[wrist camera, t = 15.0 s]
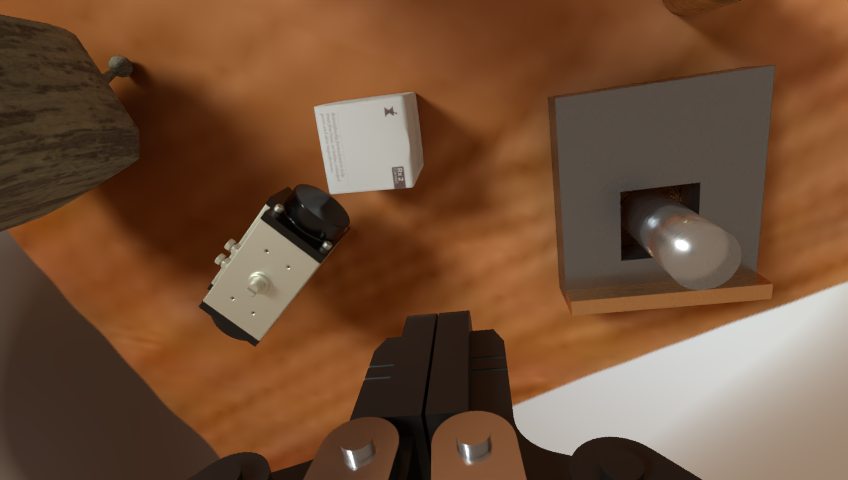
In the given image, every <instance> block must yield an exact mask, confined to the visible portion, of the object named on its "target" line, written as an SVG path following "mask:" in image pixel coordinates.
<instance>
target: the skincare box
mask: <svg viewBox="0 0 848 480" xmlns="http://www.w3.org/2000/svg"><path fill="white" fill-rule="evenodd" d="M314 110H315V116H316V122H317V128H318V133H319V139H320V144H321V150H322V155H323V161H324V166H325V172H326V177H327V182H328V187H329V192H330V194H341V193H352V192H363V191H375V190H388V189H400V188H412V187H414V185H415V183H416V181H417V178H418V176H419V174H420V172H421V170H422V168H423V166H424V161H423V149H422V140H421V131H420V123H419V115H418V107H417V100H416V94H415V92H406V93H399V94H390V95H382V96H375V97H367V98H360V99H353V100H345V101H339V102H335V103H330V104H324V105H319V106H316V107H314Z"/></svg>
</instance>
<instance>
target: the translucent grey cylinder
mask: <svg viewBox="0 0 848 480" xmlns="http://www.w3.org/2000/svg"><path fill="white" fill-rule="evenodd" d="M620 211H621V225H622V227H623V228H624V229H625V230H626V231H627V232H628V233H629V234H630V235H631V236H632V237H633V238H634V239H635V240H636V241H637V242H638V243H639V244H640V245H641V246H642V247H643V248H644V249H645V250H646V251H647V252H648V253H649V254H650V255H651V256H652V257H653V258H654V259H655V260H656V261H657V262H658V263H659V264H660V265H661V266H662V267H663V268H664V269H665V270H666V271H667V272H668V273H669V274H670V275H671V276H672V277H673V278H674V279H675V280H676V281H677V282H678V283H679V284H680V285H682V286H684V287H686V288H688V289H692V290H708V289H712V288H715V287H718V286H720V285H722V284H723V283H725V282H726V281H727V280H729V279H730V278H731V277H732V276H733V275H734V273H735V272H736V271H737V269H738V267H739V265H740V262H741V248H740V245H739V243H738V241H737V240H736V238H735V237H734V236H732V235H731V234H730V233H728V232H726V231H725V230H723V229H722V228H720V227H718V226H717V225H715V224H713V223H712V222H710V221H708V220H707V219H705V218H703V217H702V216H700V215H699V214H697V213H695V212H694V211H692V210H690V209H689V208H687V207H685V206H684V205H682V204H680V203H679V202H677V201H676V200H674V199H672V198H671V197H669V196H667V195H666V194H664V193H662V192H661V191H659V190H656V189H651V188H649V189H641V190H637V191H635V192H633V193H631V194H630V195H629V196H628V197H627V198H626V199H625V200H624V201H623V203H622V204H621V207H620Z"/></svg>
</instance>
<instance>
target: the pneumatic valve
mask: <svg viewBox="0 0 848 480" xmlns="http://www.w3.org/2000/svg"><path fill="white" fill-rule="evenodd" d="M349 223H350V219H349V216H348V214H347V212H346V211H345V209H344V208H343V207H342V206H341V205H340V204H339V203H338V202H337V201H336V200H335V199H334V198H332V197H331V196H330V195H328V194H327V193H325V192H324V191H322V190H320V189H318V188H316V187H313V186H310V185H306V184H300V185H297V186H296V187H295V188H294V189H293V190H291V189H290V188H289V187H287V188H285V189H284V190H282V191H280V192H278V193H277V194H275V195H273V196H271V197H270V198H269V200H268V201H267V203H266V204H265V206H264V207H263V209H262V210H261V211H260V213H259V214H258V216H257V217H256V219H255V220H254V222H253V223H252V225H251V226H250V227H249V229H248V230H247V232H246V233H245V235H244V236H243V238H242V239H241V240H240V242H239V243H237V244H236V245H234V244H235V243H236V241H234V240H233V239H230V240H229V241H228V242H227V243H226V245H225V246H224V248H225V249H227V250H230V249H231V251H230V252H231V255H230V256H229V258H226V259H225V257H226V255H224V254H223V253H221V254H220V255H219V256H218V257H217V258H216V259H215V261H214V262H215V263H216V264H218V265H219V264H220V263H222V264H221V265H220V266H221V267H222V268H221V269H220V271H219V272H218V274H217V275H216V277H215V278H214V279H213V281H212V282H211V284H210V285H209V287H208V288H207V289H208V290H209V292H208V294H207V295H206V297H205V298H204V300H203V301H202V303H201V304H200V305H199V307H200V308H201V309H202V310H204V311H205V312H207V313H208V314H209V315H211V317H212V320H213V321H214V323H215V324H216V326H217V327H218V328H219V329H220V330H221V331H222V332H224V333H225V334H226V335H228V336H230V337H232V338H235V339H238V340H243V341H248V342H249V343H250V344H252V345H253V346H256V345H257V344H258V343H259V342H260V341H261V339H262V338H263V337H264V336H265V334H266V333H267V332H268V331H269V329H270V328H271V327H272V326H273V325H274V323H275V322H276V321H277V320H278V318H279V317H280V316H281V315H282V314H283V312H284V311H285V310H286V309H287V307H288V306H289V305H290V304H291V302H292V301H293V300H294V299H295V297H296V296H297V295H298V294H299V292H300V291H301V290H302V288H303V287H304V286H305V285H306V283H307V282H308V281H309V280H310V278H311V277H312V276H313V275H314V273H315V272H316V271H317V269H318V268H319V267H320V266H321V264H322V263H323V262H324V261H325V259H326V258H327V257H328V256H329V254H330V253H331V252H332V250H333V249H334V248H335V247H336V245H337V244H338V243H339V242H340V240H341V239H342V238H343V237H344V235H345V234H346V233H347V232H348V230H349V229H350V227H349Z"/></svg>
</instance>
